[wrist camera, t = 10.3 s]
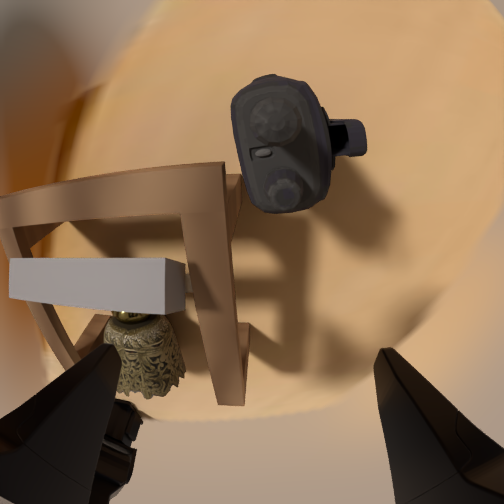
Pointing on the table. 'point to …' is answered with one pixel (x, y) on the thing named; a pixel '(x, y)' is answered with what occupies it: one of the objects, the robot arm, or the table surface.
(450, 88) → the table surface
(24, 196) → the frame
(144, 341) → the brass rounded piece
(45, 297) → the trapdoor
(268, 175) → the two-way radio
